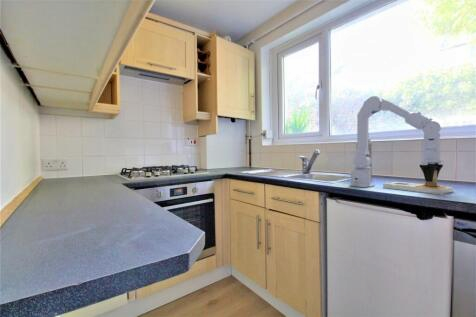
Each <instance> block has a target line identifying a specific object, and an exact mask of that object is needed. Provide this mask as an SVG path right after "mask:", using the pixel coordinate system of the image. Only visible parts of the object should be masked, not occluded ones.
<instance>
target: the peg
mask: <svg viewBox="0 0 476 317" xmlns="http://www.w3.org/2000/svg"><path fill="white" fill-rule="evenodd" d="M424 184H425V186H428V187H437V185H438V178H437V170H435V172H434V176H433V181H432V182H428V181H425V180H424Z"/></svg>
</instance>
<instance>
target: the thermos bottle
mask: <svg viewBox="0 0 476 317" xmlns="http://www.w3.org/2000/svg"><path fill="white" fill-rule="evenodd" d="M369 135H370V134H369V133H368V150H369V156H370V158H371V164H370V165H369V166H370V167H371V168H370V169H371V180H372V178H373V176H372V174H373V172H372V171H373V166H372V165H373V164H372V163H373V156H372V154H373V152H372V150H373V149H372V148H373V143H372V142H371V138H370V136H369Z"/></svg>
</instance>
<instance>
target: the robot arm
mask: <svg viewBox="0 0 476 317" xmlns="http://www.w3.org/2000/svg"><path fill="white" fill-rule="evenodd" d="M380 111H383V112H385V111H389V112H391V113H393V114H395V115H397V116H399V117H401V118H403V119H404V121H405V124H407V125H409V126H411V127H413V128H415V129H417V130H418V131H421V130H422V132H423V139H422V159H421V160H420V164H419V167H420V169H421V171H422V174H423V177H424V182H425V181H428V182H432V181H433V176H434V172H435V170H437V179H439V175H440V171H441V170H442V168H443V166H444V164H442V162H444V159H441V129H442V127H441V125H440V123H439V122H437V121H434V120H433V118H432V117H430V118H429V117H427V116H425V115H423V114H422V112H420V111H411V112H410V111H408V110H406V109H404V108H402V107H400V106H399V105H397V104H395V103H393V102H391V101H390V100H387V99H384V98H380V97H379V96H376V95H372V96H370V97H368V98H367V99H366V100H365V101H363V104H362V106H361V108H360V110H359V111H358V113H357V116H356V119H357V120H356V122H357V124H356V125H357V126H356V127H357V128H356V130H357V133H356V135H357V136H356V138H357V139H356V152H355V157H354V159H353V164H354V169H353V170H352V171H350V183H349V186H351V187H358V188H369V187H374V186H375V184H371V169H370V168H371V167H370V166H369V165H370V164H371V158H370V156H369V150H368V136H369V135H368V134H369V122H370V121H369V119H370V118H371V117H372V116H373V115H374V114H376V113H379V112H380Z"/></svg>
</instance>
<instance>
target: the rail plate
mask: <svg viewBox="0 0 476 317" xmlns="http://www.w3.org/2000/svg"><path fill="white" fill-rule="evenodd" d="M382 186H383V188H384V189H390V190H397V191H398V190H400V191H408V192H417V193H423V194H424V193H425V194H431V195H432V194H434V195H440V196H441V195H446V194H449V193H453V192H454V187H453V186H447V185H438V184H437V187H428V186H425V183H416V182H415V183H414V182H404V181H403V182H402V181H392V182H385V183H384V182H383V183H382Z"/></svg>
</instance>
